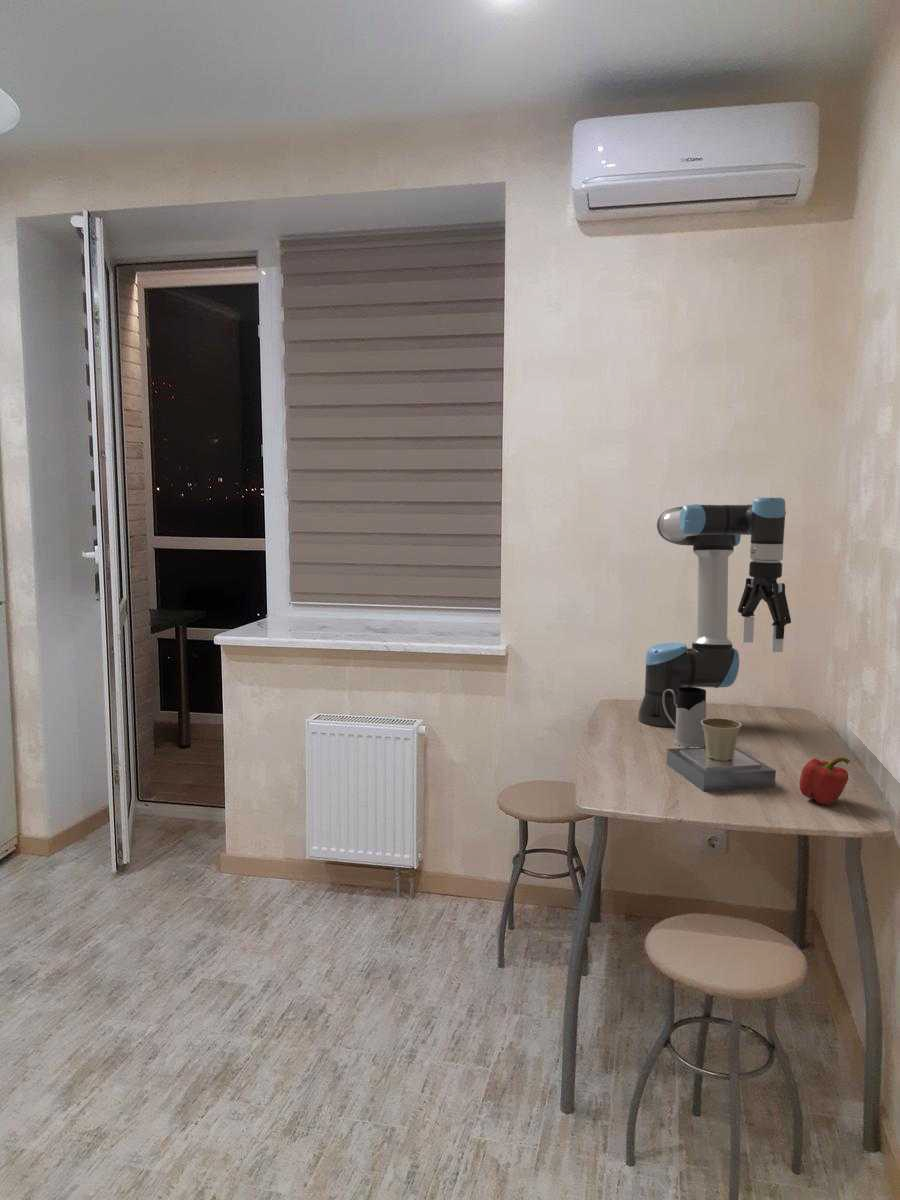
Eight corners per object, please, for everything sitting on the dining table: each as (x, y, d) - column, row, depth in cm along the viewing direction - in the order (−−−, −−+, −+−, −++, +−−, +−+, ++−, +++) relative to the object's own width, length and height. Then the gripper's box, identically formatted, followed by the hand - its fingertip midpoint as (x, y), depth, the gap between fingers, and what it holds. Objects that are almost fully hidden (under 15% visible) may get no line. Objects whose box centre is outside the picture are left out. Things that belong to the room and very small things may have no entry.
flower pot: (713, 764, 203) (714, 729, 202) (691, 753, 212) (693, 719, 211) (747, 761, 205) (749, 726, 204) (725, 750, 214) (726, 716, 213)
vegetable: (836, 792, 197) (839, 750, 196) (859, 809, 187) (862, 764, 186) (789, 792, 197) (792, 750, 196) (810, 809, 187) (812, 764, 186)
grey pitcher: (692, 749, 230) (694, 695, 228) (651, 737, 241) (653, 685, 239) (712, 744, 235) (715, 690, 233) (671, 732, 246) (673, 681, 244)
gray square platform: (666, 764, 217) (667, 747, 217) (732, 760, 220) (733, 743, 220) (703, 791, 198) (704, 772, 197) (774, 786, 201) (775, 768, 200)
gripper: (726, 557, 220) (722, 638, 223) (780, 565, 196) (775, 656, 198) (753, 557, 222) (749, 638, 224) (810, 565, 197) (804, 655, 200)
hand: (761, 647), depth 211 cm, fingers open, 13 cm apart
